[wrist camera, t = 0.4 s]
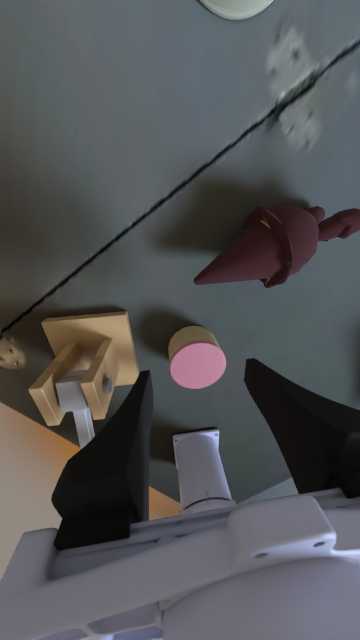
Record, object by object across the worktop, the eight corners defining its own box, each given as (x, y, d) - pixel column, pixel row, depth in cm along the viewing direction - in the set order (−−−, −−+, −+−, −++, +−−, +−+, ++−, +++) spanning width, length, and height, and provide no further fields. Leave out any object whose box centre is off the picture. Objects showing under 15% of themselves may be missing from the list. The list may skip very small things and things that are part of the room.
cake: (215, 363, 26) (225, 385, 22) (170, 368, 25) (172, 392, 22) (216, 323, 23) (227, 339, 19) (166, 328, 23) (167, 346, 19)
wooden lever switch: (140, 377, 25) (132, 435, 18) (73, 385, 25) (36, 449, 17) (127, 310, 21) (110, 350, 14) (46, 318, 21) (-18, 364, 13)
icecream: (218, 332, 16) (367, 262, 17) (196, 256, 12) (405, 160, 12) (193, 296, 22) (305, 244, 22) (171, 234, 17) (314, 168, 17)
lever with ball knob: (114, 466, 21) (106, 496, 18) (86, 470, 20) (73, 501, 17) (97, 367, 19) (84, 381, 16) (66, 370, 18) (47, 385, 15)
